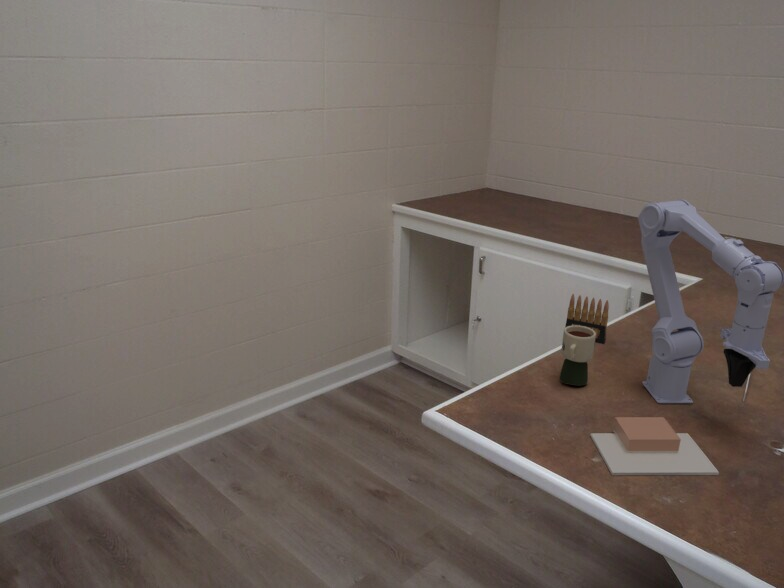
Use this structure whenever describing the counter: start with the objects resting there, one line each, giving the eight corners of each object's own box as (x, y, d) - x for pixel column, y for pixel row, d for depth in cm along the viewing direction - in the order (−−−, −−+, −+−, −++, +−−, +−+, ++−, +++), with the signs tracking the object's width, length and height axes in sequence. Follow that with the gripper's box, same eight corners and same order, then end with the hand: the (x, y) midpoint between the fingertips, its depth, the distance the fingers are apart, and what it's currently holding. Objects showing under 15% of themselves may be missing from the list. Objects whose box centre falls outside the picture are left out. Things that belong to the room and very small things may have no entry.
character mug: (565, 369, 163) (572, 319, 158) (595, 376, 159) (602, 326, 155) (550, 387, 154) (556, 335, 149) (581, 396, 151) (588, 343, 146)
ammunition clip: (605, 341, 178) (611, 299, 174) (604, 344, 177) (610, 301, 172) (565, 333, 183) (570, 292, 178) (563, 335, 181) (568, 294, 177)
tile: (615, 417, 136) (629, 439, 128) (663, 417, 136) (680, 439, 129) (612, 429, 137) (627, 452, 129) (661, 429, 137) (678, 452, 130)
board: (590, 435, 136) (590, 433, 135) (687, 435, 136) (687, 433, 136) (612, 475, 124) (612, 472, 123) (718, 475, 124) (719, 472, 124)
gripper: (711, 308, 137) (699, 368, 142) (749, 338, 124) (734, 403, 128) (745, 309, 137) (732, 368, 142) (786, 338, 124) (770, 403, 129)
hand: (735, 385), depth 135 cm, fingers closed
